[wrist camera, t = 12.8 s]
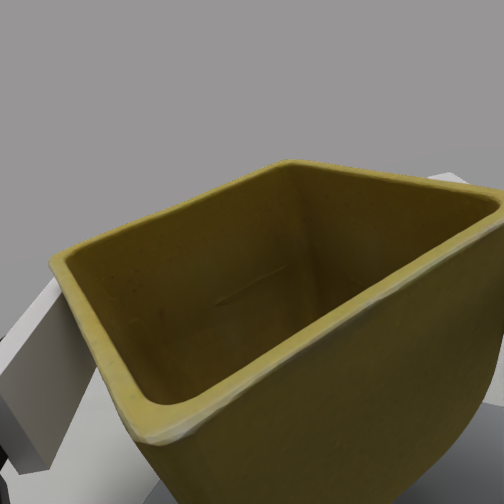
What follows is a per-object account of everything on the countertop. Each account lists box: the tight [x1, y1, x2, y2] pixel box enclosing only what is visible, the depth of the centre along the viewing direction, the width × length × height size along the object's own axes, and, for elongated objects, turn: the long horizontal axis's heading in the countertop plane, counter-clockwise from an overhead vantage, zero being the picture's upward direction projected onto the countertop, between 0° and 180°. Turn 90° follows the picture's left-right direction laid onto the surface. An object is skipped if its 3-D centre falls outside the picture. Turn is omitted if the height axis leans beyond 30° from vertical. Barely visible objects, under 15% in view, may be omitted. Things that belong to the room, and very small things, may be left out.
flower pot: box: [48, 159, 504, 504], centre depth 12 cm, size 9×9×9 cm
